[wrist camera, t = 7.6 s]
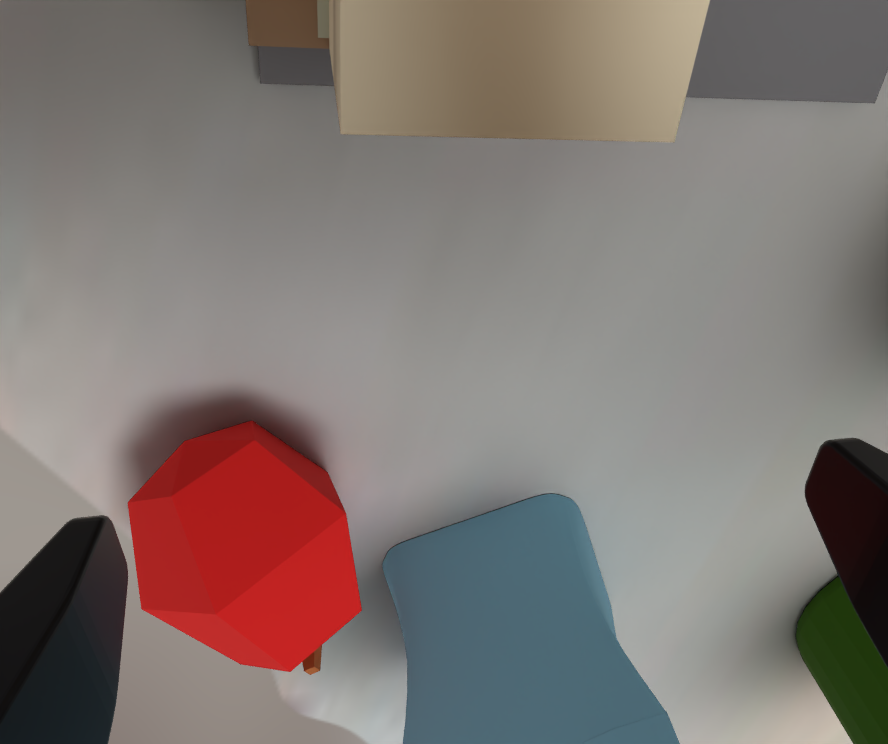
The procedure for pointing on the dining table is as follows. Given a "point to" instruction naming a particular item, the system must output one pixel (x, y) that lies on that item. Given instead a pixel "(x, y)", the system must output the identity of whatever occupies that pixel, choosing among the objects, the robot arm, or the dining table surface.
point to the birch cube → (514, 67)
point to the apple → (245, 549)
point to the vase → (515, 635)
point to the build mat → (730, 52)
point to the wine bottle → (845, 664)
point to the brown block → (288, 23)
